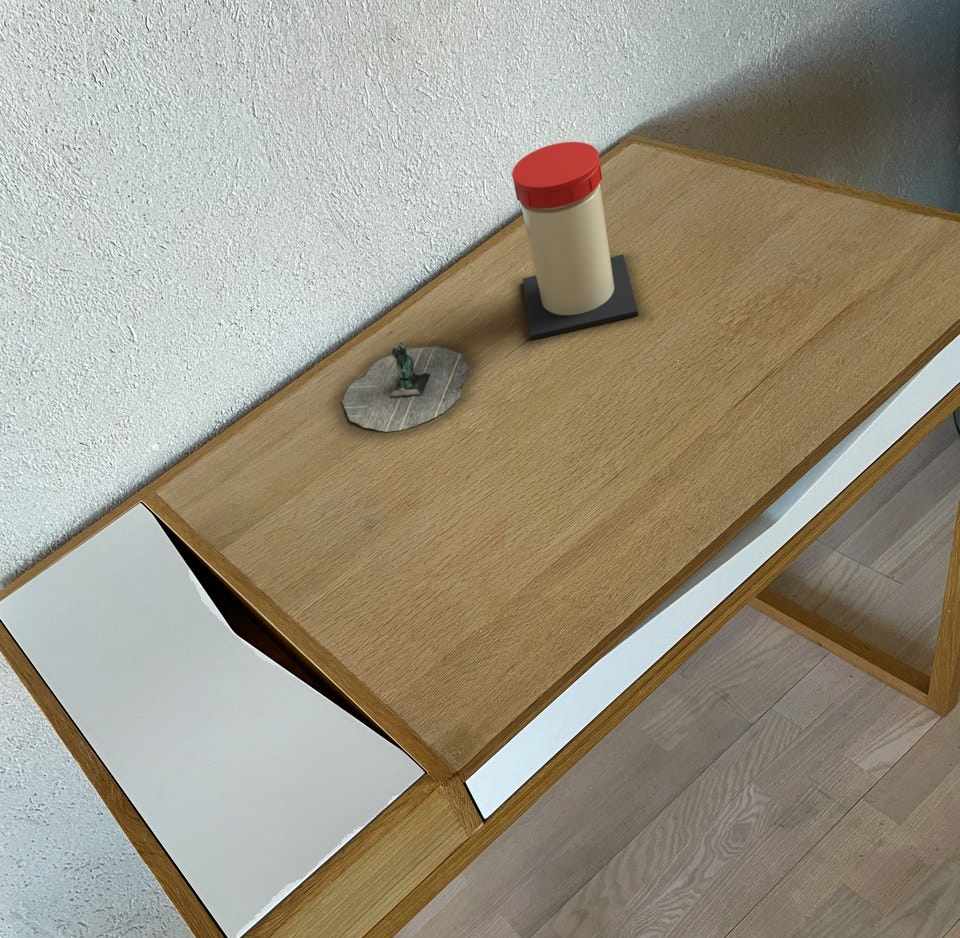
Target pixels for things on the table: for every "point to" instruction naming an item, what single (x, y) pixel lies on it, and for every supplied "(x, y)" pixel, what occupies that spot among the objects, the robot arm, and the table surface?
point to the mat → (611, 310)
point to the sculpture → (406, 388)
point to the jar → (571, 255)
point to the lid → (557, 175)
